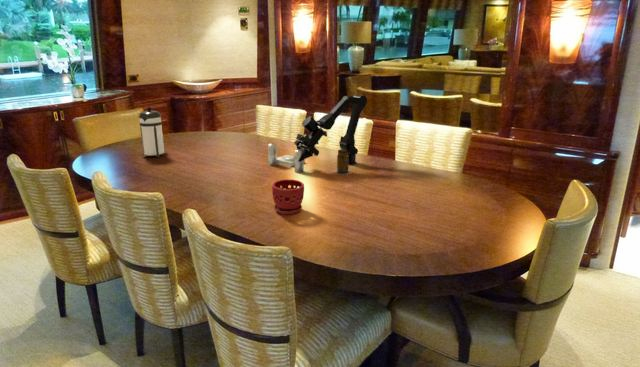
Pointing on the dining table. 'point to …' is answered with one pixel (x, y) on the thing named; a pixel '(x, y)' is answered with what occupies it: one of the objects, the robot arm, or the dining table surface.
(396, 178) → the dining table surface
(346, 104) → the robot arm
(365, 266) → the dining table surface
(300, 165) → the shiny silver cylinder
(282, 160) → the scale
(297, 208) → the plant pot
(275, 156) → the cylinder
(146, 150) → the coffee press
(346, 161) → the condiment
